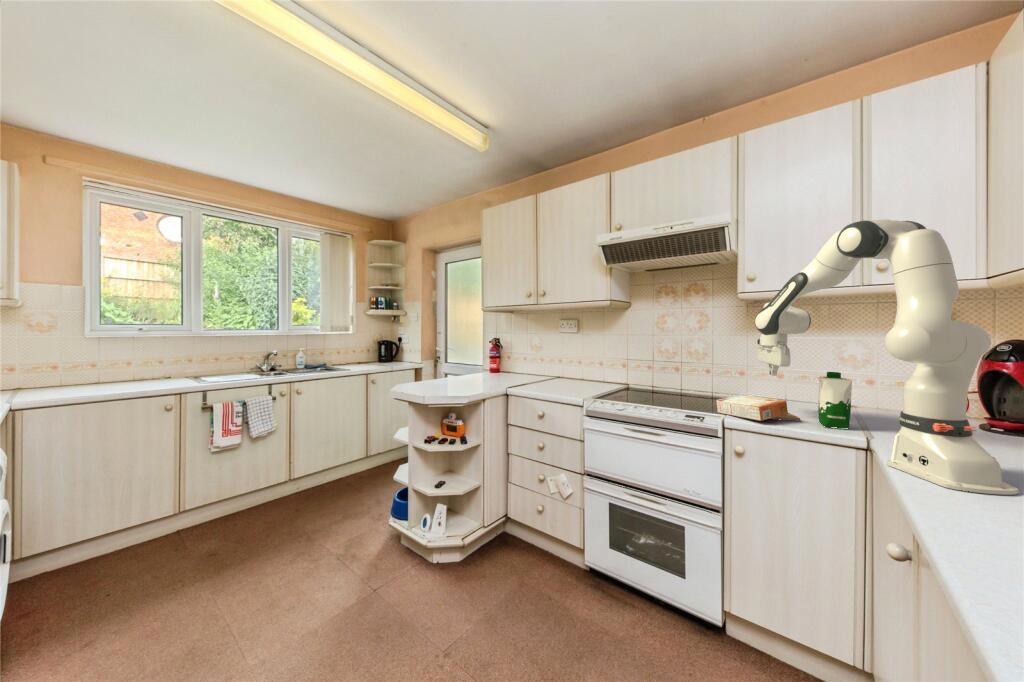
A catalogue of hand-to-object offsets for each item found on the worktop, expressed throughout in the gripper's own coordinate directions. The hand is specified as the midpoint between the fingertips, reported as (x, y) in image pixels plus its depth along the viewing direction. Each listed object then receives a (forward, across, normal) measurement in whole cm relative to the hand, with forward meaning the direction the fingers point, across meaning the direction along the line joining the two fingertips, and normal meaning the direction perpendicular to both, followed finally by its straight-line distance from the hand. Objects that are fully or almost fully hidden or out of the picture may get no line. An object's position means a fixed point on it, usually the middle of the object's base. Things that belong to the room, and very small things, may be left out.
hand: (772, 375), depth 152 cm
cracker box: (+12, -11, +3) cm, 17 cm away
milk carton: (+17, -11, -16) cm, 26 cm away
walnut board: (+17, +5, 0) cm, 18 cm away
